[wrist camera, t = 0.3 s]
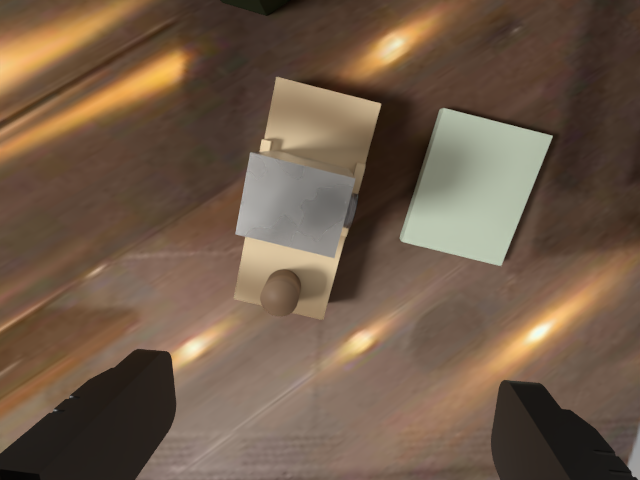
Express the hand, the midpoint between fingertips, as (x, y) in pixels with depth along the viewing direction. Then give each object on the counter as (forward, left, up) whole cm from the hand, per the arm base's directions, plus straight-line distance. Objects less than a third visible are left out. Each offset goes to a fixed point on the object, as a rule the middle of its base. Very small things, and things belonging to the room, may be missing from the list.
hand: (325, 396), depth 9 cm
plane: (-1, -2, -20) cm, 20 cm away
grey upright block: (-3, -2, -17) cm, 18 cm away
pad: (-5, +10, -20) cm, 23 cm away
